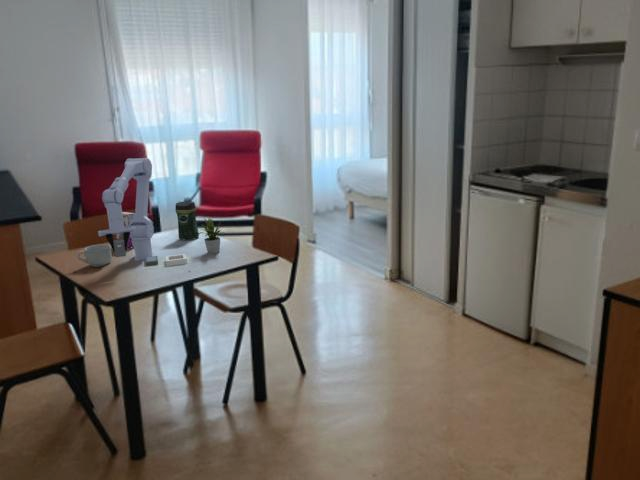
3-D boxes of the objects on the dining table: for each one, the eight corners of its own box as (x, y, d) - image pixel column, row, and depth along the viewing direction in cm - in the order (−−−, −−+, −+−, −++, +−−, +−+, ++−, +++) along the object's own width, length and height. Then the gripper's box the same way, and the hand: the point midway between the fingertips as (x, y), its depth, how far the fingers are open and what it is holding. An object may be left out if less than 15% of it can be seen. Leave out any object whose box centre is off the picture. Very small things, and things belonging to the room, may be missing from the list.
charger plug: (115, 254, 246) (113, 240, 245) (125, 253, 247) (124, 239, 246) (115, 257, 242) (113, 243, 241) (125, 256, 243) (123, 242, 242)
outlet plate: (142, 262, 257) (141, 257, 256) (189, 256, 262) (188, 251, 262) (142, 270, 245) (141, 264, 244) (192, 264, 250) (191, 258, 250)
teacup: (112, 260, 264) (110, 242, 262) (113, 266, 254) (111, 248, 252) (79, 265, 259) (76, 247, 257) (78, 271, 249) (75, 253, 247)
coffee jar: (201, 236, 300) (197, 200, 296) (194, 240, 293) (190, 203, 288) (183, 236, 303) (179, 200, 298) (176, 240, 295) (172, 203, 291)
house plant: (189, 252, 270) (185, 217, 266) (215, 246, 278) (212, 212, 275) (206, 258, 259) (202, 221, 255) (232, 251, 268) (229, 215, 264)
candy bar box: (116, 246, 289) (111, 213, 285) (124, 244, 293) (120, 211, 289) (132, 248, 283) (127, 214, 279) (140, 246, 287) (136, 212, 283)
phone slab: (145, 260, 258) (145, 257, 257) (157, 259, 259) (157, 255, 259) (146, 266, 249) (145, 262, 249) (158, 264, 251) (157, 260, 250)
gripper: (96, 222, 236) (101, 255, 239) (134, 218, 239) (138, 251, 243) (97, 219, 242) (101, 251, 245) (134, 215, 246) (138, 247, 249)
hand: (120, 251), depth 245 cm, fingers closed on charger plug, 4 cm apart
